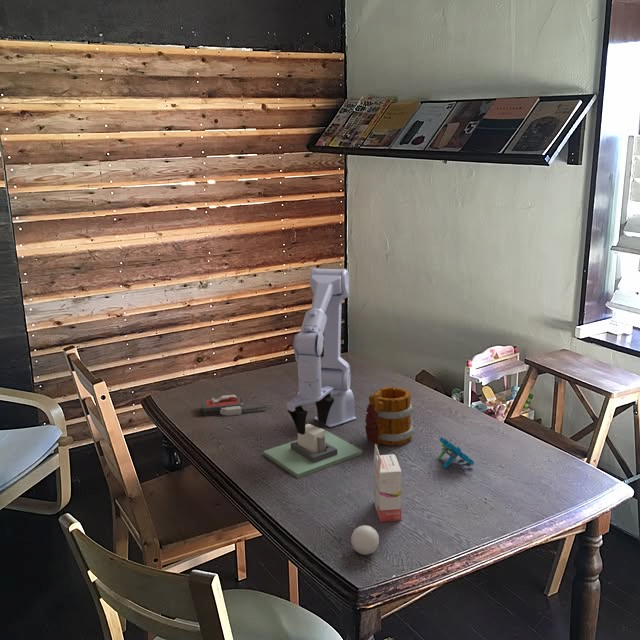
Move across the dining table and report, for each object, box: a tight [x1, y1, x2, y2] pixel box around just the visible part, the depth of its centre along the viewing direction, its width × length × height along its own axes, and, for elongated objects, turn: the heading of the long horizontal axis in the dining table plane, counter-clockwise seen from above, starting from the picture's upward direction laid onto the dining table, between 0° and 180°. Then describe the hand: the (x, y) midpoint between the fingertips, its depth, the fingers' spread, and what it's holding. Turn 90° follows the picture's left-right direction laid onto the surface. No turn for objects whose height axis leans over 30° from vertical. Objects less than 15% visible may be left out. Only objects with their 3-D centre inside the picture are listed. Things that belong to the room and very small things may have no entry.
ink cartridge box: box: [373, 444, 402, 523], centre depth 156 cm, size 9×5×15 cm, turn 5°
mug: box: [364, 386, 415, 447], centre depth 190 cm, size 11×16×15 cm, turn 137°
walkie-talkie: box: [199, 394, 268, 417], centre depth 216 cm, size 9×4×20 cm
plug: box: [297, 423, 326, 454], centre depth 185 cm, size 4×9×6 cm, turn 45°
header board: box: [262, 429, 363, 479], centre depth 186 cm, size 20×16×2 cm
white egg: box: [350, 524, 381, 556], centre depth 144 cm, size 8×6×6 cm
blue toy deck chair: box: [437, 436, 475, 469], centre depth 177 cm, size 11×6×10 cm
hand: (311, 428), depth 184 cm, fingers open, 7 cm apart
